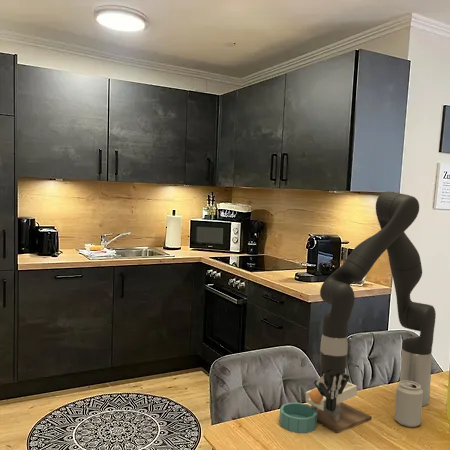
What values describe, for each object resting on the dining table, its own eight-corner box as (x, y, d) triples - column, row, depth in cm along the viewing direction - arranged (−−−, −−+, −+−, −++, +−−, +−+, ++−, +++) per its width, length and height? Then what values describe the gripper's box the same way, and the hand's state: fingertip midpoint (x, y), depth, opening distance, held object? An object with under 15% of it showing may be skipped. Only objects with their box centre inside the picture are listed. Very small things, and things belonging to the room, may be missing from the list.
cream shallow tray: (338, 386, 149) (338, 377, 148) (367, 399, 140) (367, 390, 139) (305, 401, 140) (305, 392, 140) (334, 416, 131) (334, 406, 131)
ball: (311, 402, 139) (318, 390, 140) (321, 407, 136) (328, 394, 137) (304, 396, 137) (311, 384, 138) (314, 401, 134) (321, 389, 135)
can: (423, 430, 135) (425, 390, 135) (396, 426, 137) (398, 387, 136) (417, 418, 143) (420, 380, 142) (392, 415, 144) (394, 377, 144)
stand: (337, 402, 152) (338, 384, 151) (371, 419, 141) (372, 400, 140) (302, 414, 142) (303, 395, 142) (336, 433, 131) (337, 412, 131)
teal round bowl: (297, 412, 144) (298, 399, 143) (323, 426, 135) (324, 413, 135) (272, 420, 137) (273, 407, 137) (297, 436, 129) (298, 422, 129)
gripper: (338, 343, 139) (335, 400, 140) (308, 350, 131) (304, 410, 132) (359, 350, 133) (355, 409, 133) (328, 358, 125) (324, 420, 126)
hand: (330, 409), depth 133 cm, fingers closed
